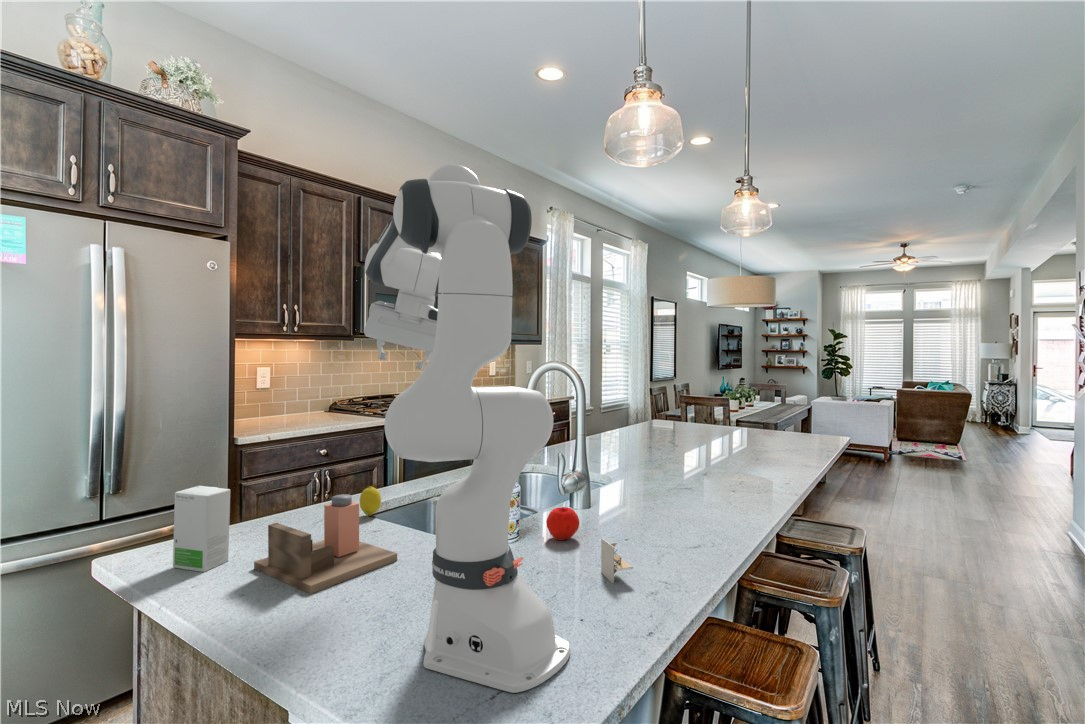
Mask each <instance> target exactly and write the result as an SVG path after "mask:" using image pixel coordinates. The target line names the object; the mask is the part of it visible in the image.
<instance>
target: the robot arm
mask: <svg viewBox="0 0 1085 724" xmlns="http://www.w3.org/2000/svg"><path fill="white" fill-rule="evenodd" d="M398 191H399V192H398V194H397V195H396V198H395V199H394V200H395V201H394V204H393V211H392V214H393V215H392V216H391V218H390V220H389V221H388V222H387V223H386V225H385V227H384V229H383V231H382V232H381V234H380V236H379V237H378V239H377V240H376V241H375V242H374V243H373V244H372V246H370V248H369V250H368V252H367V254H366V257H365V260H364V270H365V271H364V273H365V275H366V276H367V278H368V279H369V281H370V282H372V284H373V285H377V286H381V287H389V288H393V289H397V290H398V292H397V293H398V294H397V297H396V301H395V303H392V302H391V303H390V302H384V301H382V300H377V301H373V302H372V303H371V304H370V306H369V308H368V309H369V310H368V318H367V321H366V322H365V323H366V324H365V326H364V329H363V333H364V336H365V338H366V337H368V338H371V339H375V340H376V347H377V349H378V352H379V353H378V357H377V359H378V360H379V361H380V360H381V361H386V359H387V356H388V353H386V352H384V348H383V346H385V345H386V343H387V342H388V343H391V344H395V345H399V346H404V347H408V348H412V349H416V350H419V351H423V352H424V354H423V355H424V356H425V357H424V358H423V359H422V360H421V361H420V360H419V361H418V360H417V362H416V369H418V370H420V371H421V370H423V371H421V372H420V375H419V376H418V377H417V378H416V379H415V380H414V382H413V383H411V385H409V386H408V387H407V388H406V389H405V390H403V391H402V392H401V393H399V394H397V396H396V397H395V398H394V399H393V400H392V401H391V403H390V404H389V407H388V408H387V411H386V413H385V418H384V434H385V438H386V441H387V443H388V446H389V447H390V448H391V449H392V451H393V453H395V455H397V456H398V458H401V459H405V460H412V461H418V462H425V463H426V462H427V463H438V462H449V461H454V462H455V461H463V460H473V462H472V464H471V467H470V469H469V470H468V472H467V473H466V474H465V475H464V476H463V477H462V478H461V479H459V480H458V481H456V482H454V483H452V484H451V485H449V486H448V487H447V488H446V489H444V491H443V492H441V495H439V497H438V498H437V502H436V505H435V548H434V549H433V550H432V560H431V567H432V569H431V570H432V573H431V574H432V576H433V578H434V586H433V587H434V588H433V595H432V599H431V600H432V601H431V608H430V615H429V616H430V617H429V622H428V628H427V632H426V635H425V638H424V644H423V645H424V650H425V653H424V656H423V667H424V668H425V669H427V670H431V671H434V672H438V673H441V674H444V675H448V676H451V677H455V678H459V679H463V680H465V681H469V682H473V683H475V684H476V683H477V684H480V685H484V686H487V687H490V688H494V689H497V690H499V691H503V692H508V693H513V694H514V693H521V692H525V691H528V690H530V689H534V688H535V687H537V686H539V685H541V684H543V683H545V682H546V681H547V680H548V679H551V677H553V676H554V675H555V674H557V673H558V672H559V671H560V670H561V669H562V668H563V667H564V665H565V664H566V663H567V662H568V660H569V657H570V655H571V644H570V642H569V641H568V640H566V639H565V638H563V637H561V636H559V635H557V634H556V633H555V624H554V619H553V614H552V612H551V610H550V608H549V607H548V606H547V605H546V604H545V602H544V601H543V600H542V599H540V597H539V596H538V594H536V593H535V592H534V591H533V590H532V589H531V587H530V586H529V585H528V584H527V583H526V582H525V580H523V579H522V578H521V577H520V576H519V574H518V573H519V570H518V567H521V566H522V565H523V564H524V563H523V562H521V561H522V560H523V559H524V557H522V556H521V557H518V558H517V559H515V557H514V555H513V551H512V548H511V546H510V545H509V527H510V526H509V525H510V510H511V509H510V508H511V502H512V496H513V492H514V490H515V486H516V484H517V482H518V479H519V477H520V475H521V474H522V472H523V470H524V469H525V467H526V465H527V464H528V463H529V461H530V460H531V459H532V458H533V457H534V456H535V455H536V454H537V453H539V451H541V450H542V449H543V448H544V447H545V446H546V445H547V444H548V441H549V440H550V438H551V435H552V431H553V429H554V414H553V409H552V406H551V404H550V402H549V401H548V399H547V398H546V396H545V395H544V394H543V393H542V392H541V391H538V390H535V389H530V388H526V387H518V386H514V385H513V386H511V385H508V386H507V385H506V386H505V385H504V386H503V385H502V386H473V381H474V380H475V377H476V375H477V373H478V372H479V371H480V370H481V369H482V368H483V367H485V366H487V365H490V364H491V363H492V362H494V361H496V360H498V359H500V358H501V357H503V355H505V353H506V352H507V351H508V349H509V348H510V345H511V342H512V323H513V284H514V283H513V267H512V258H511V256H512V255H515V254H520V253H521V252H522V251H523V249H524V248H526V246H527V244H528V243H529V239H530V237H531V233H532V225H533V224H532V222H533V221H532V209H531V206H530V204H529V202H528V201H527V199H526V198H525V196H524V195H522V194H521V193H517V192H516V191H513V190H509V189H505V188H504V189H498V188H495V187H489V186H485V185H481V182H480V180H479V178H478V176H477V175H476V174H475V173H474V172H473V171H472V170H470V169H469V168H468V167H465V166H463V165H460V164H457V163H450V164H444V165H442V166H440V167H437V169H436V170H434V171H433V173H432V174H431V175H430V176H429V178H428V179H427V178H415V179H409V180H406V181H405V182H404V183H403V184H402V185H401V186H400V187H399V190H398ZM436 297H437V308H435V303H436ZM425 364H426V365H425Z"/></svg>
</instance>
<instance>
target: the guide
mask: <svg viewBox="0 0 1085 724" xmlns="http://www.w3.org/2000/svg"><path fill="white" fill-rule="evenodd" d="M267 526H268V527H267V528H268V529H267V537H268V541H267V547H268V550H267V551H268V553H267V555H268V556H267V557H265V558H260V559H258V560H254V561H253V569H254V570H256V571H258V572H261V573H262V574H265V575H267V576H269V577H271V578H273V579H276V580H278V581H281V582H282V583H286V584H287V585H290V586H292V587H294V588H296V589H299V590H301V591H303V592H305V593H308V594H310V595H312V594H315V593H316V592H320V591H322V590H325V589H327V588H330V587H333V586H335V585H337V584H340V583H343V582H346V581H348V580H351V579H353V578H356V577H358V576H360V575H364V574H366V573H368V572H371V571H374V570H376V569H378V568H382V567H384V566H387V565H389V564H392V563H394V562H397V561H398V553H397V552H396V551H395V552H394V551H391V550H388V549H385V548H382V547H378V546H375V545H372V544H369V543H366V542H363V541H360V540H359V550H358V551H355V552H352V553H349V554H346V555H343V556H340V557H337V556H334V547H332V546H326V547H324V539H322V540H320V541H317V542H313V539H312V534H311V533H308V532H305V531H303V530H300V529H296V528H294V527H290V526H288V525H285V524H281V523H279V522H276V523H275V522H274V523H272V524H268V525H267ZM363 573H364V574H363ZM355 576H356V577H355ZM352 577H353V578H352ZM345 580H346V581H345Z"/></svg>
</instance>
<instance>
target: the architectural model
mask: <svg viewBox="0 0 1085 724" xmlns="http://www.w3.org/2000/svg"><path fill="white" fill-rule="evenodd" d="M600 545H601V549H600V551H601V552H600V557H601V558H600V561H601V563H600V564H601V565H600V566H601V567H600V568H601V569H600V571H601V572H600V573H601V574H602V575H603V576H604V577H606V579H608V580H609V581H610V582H611V583H612V584H615V574H616V573H617V571H626V570H633V566H632V565H630V564H629V563H628V562H626V561H625V560H624V559H623V558H622V557H621V555H619V554H617V553H616V552H617V551H618V550H619V549H618V548H617V549H616V550H615V547H616V546H617V545H618V542H610V543H609V541H607V540H606V539H604V538H603V537H602V538H601V544H600Z"/></svg>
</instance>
